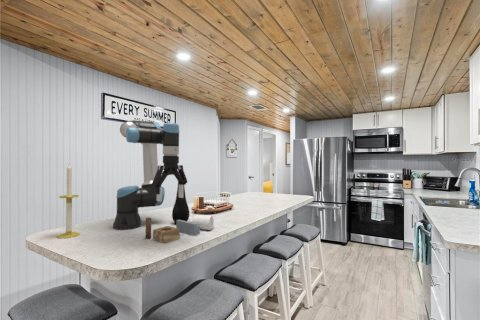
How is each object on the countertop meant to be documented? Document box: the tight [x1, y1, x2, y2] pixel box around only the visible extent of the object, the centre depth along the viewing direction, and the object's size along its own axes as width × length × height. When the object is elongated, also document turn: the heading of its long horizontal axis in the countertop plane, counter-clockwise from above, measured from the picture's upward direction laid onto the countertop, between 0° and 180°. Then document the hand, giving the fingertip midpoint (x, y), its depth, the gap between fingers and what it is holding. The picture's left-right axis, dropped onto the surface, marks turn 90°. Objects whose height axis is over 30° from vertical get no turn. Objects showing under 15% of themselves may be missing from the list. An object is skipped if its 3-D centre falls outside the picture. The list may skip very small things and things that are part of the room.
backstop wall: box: [175, 220, 201, 237], centre depth 138 cm, size 14×5×6 cm, turn 55°
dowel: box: [145, 216, 152, 240], centre depth 128 cm, size 3×3×10 cm
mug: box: [192, 214, 214, 231], centre depth 147 cm, size 12×10×8 cm
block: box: [152, 225, 181, 244], centre depth 126 cm, size 9×9×5 cm
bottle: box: [171, 181, 190, 225], centre depth 158 cm, size 11×11×30 cm
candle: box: [57, 163, 81, 239], centre depth 131 cm, size 10×10×38 cm
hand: (170, 199), depth 123 cm, fingers open, 13 cm apart
